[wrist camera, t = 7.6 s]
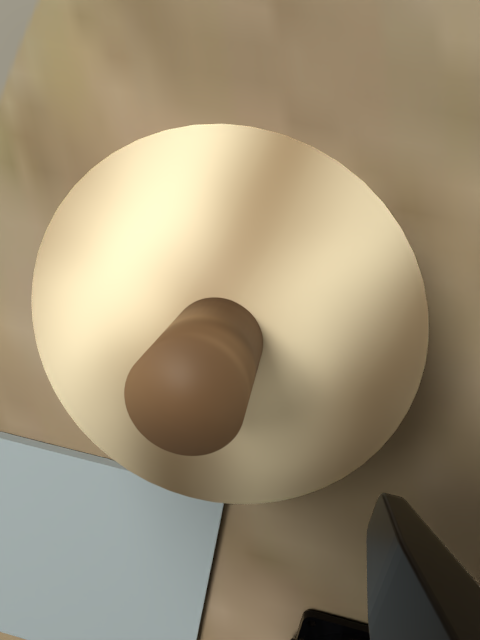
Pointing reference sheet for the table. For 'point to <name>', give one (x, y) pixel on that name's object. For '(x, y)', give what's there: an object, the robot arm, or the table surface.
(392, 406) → the lid
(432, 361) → the table surface
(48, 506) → the mat
